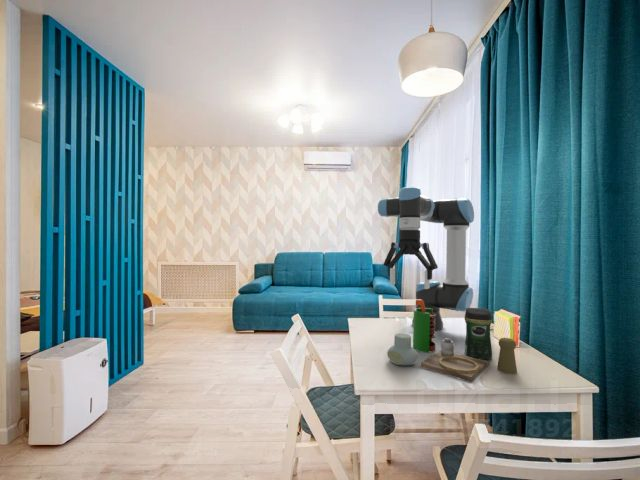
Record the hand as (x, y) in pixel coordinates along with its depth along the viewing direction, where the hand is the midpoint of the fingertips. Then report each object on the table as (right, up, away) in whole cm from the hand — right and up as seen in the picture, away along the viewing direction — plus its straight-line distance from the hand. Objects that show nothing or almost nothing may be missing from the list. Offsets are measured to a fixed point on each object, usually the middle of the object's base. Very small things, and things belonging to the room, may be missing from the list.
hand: (409, 286), depth 118 cm
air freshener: (-3, -28, -2) cm, 28 cm away
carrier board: (+15, -28, -5) cm, 32 cm away
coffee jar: (+28, -28, +5) cm, 40 cm away
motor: (+10, -28, +13) cm, 32 cm away
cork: (+32, -28, -8) cm, 43 cm away
